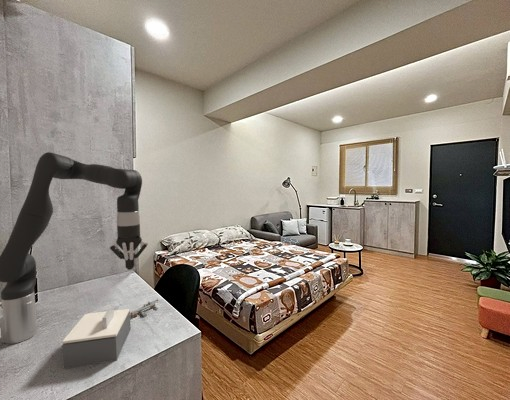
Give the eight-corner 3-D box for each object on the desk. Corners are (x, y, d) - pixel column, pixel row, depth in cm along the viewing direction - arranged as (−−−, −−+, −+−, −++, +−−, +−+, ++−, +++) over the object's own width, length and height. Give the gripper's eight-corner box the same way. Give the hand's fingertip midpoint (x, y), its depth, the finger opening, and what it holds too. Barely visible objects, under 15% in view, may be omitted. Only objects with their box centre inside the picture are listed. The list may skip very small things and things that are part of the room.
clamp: (135, 316, 106) (126, 309, 113) (135, 321, 106) (126, 313, 113) (167, 304, 118) (157, 297, 124) (167, 308, 118) (157, 301, 124)
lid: (62, 343, 79) (61, 329, 79) (85, 315, 95) (85, 304, 95) (116, 336, 83) (115, 323, 82) (129, 310, 99) (129, 299, 99)
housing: (63, 368, 79) (61, 345, 78) (87, 334, 96) (86, 315, 96) (116, 360, 83) (115, 338, 82) (130, 329, 100) (129, 310, 100)
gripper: (149, 221, 94) (151, 264, 95) (112, 222, 91) (114, 267, 92) (145, 224, 87) (147, 271, 88) (104, 226, 84) (107, 274, 85)
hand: (130, 268), depth 90 cm, fingers closed
